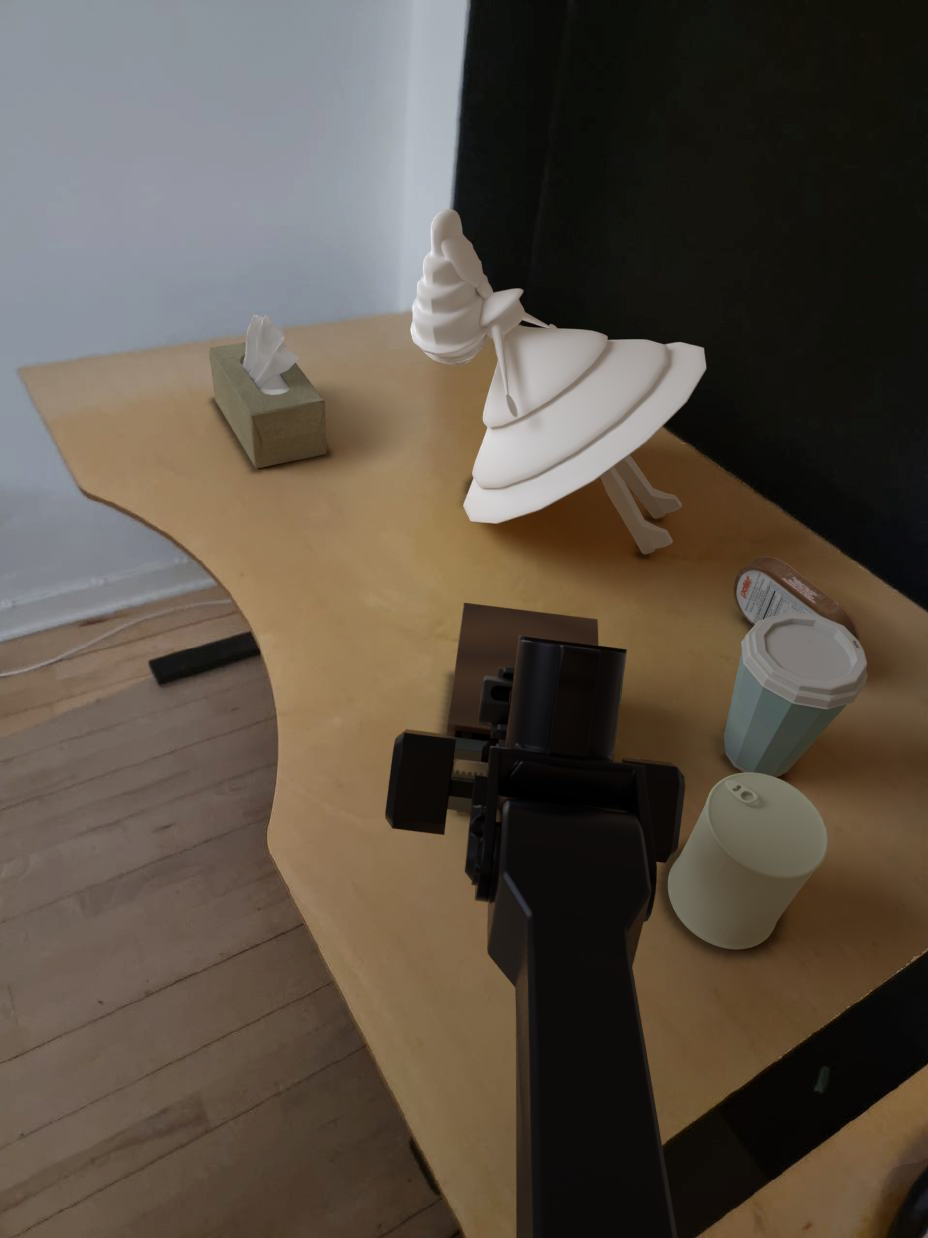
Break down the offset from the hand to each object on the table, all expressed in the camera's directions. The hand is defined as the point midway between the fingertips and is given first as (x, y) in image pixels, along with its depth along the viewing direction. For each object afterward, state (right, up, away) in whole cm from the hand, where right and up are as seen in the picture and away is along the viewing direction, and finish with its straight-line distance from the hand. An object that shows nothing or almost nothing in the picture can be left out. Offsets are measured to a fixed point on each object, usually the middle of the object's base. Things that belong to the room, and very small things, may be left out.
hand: (525, 773), depth 63 cm
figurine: (+5, +27, +46) cm, 54 cm away
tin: (+31, +9, +32) cm, 45 cm away
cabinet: (0, 0, +18) cm, 18 cm away
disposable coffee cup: (+24, -2, +20) cm, 31 cm away
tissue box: (-31, +38, +54) cm, 73 cm away
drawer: (0, -3, +14) cm, 15 cm away
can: (+17, -12, +8) cm, 23 cm away
